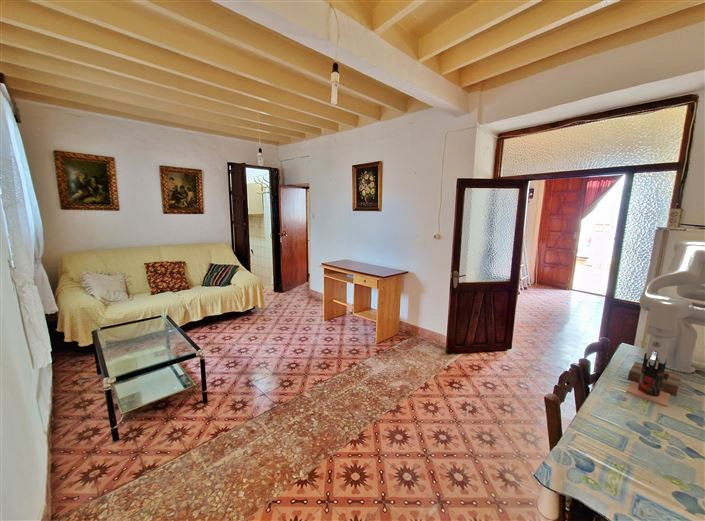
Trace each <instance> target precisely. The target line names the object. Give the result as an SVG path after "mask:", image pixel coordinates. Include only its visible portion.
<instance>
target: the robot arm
mask: <svg viewBox="0 0 705 521" xmlns="http://www.w3.org/2000/svg"><path fill="white" fill-rule="evenodd" d="M673 252H674V253H673V254H674V255H673V257H672V259H671V262H670V264H669V266H668V269H667V272H666V273H663V274H661V275H658V276H656V277H654V278H653V279H651V280H650V281H648V282H647V283H646V285H645V286H644V288H643V291H642V293H641V295H640V298H639V301H638V303H639V307H640V308H641V309H642V310H644V311H646V312H649V313H648V319H647V324H646V328H645V329H646V330H645V333H646V334H648V335H649V336H648V337H649V338H648V343H647V349H646V353H647V356H646V358H647V359H648V363H647V365H646V369H645V374H644V375H645V376H648V377H651V378H655V379H656V378H657V373H658V369H657V368H658V364H659V363H662V364H664V363H665V361H666V359H667V361H666V365H665V369H669V370H672V371H675V372H680V373H684V372H685V374H693V373H692V372H694V373H695V372H696V368H695V367H694V366H692V362H693V358H694V353H695V348H696V345H697V339H698V331H697V329H696V328H695V327H694V326H693V325H697V326H702V327H705V303H700V302H705V240H696V239H695V240H694V239H683V240H679V241H676V242H675V243H674V245H673ZM668 287H676V294H677V295H678V297H677V296H671V295H666V294H661V293H655V292H657V291H659V290H660V289H661V290H662V289H663V288H664V289H665V288H668ZM688 299H689V300H688ZM691 300H694V301H700V302H693V301H691ZM650 358H651V359H650ZM657 360H658V361H657Z"/></svg>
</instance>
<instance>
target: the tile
mask: <svg viewBox="0 0 705 521" xmlns="http://www.w3.org/2000/svg"><path fill="white" fill-rule="evenodd" d="M638 386H639V383H636V382H633V381H630V384H629V386H627V389H626V394H630V395H633V396H636V397H639V398H641V399H643V400H647V401H648V402H652V403H655V404H658V405H660V406H663V407H665V408H666V407H667V405H668V403H669V400H670V397H671V394H669V393H666V392H663V391H660V395H659V396H657V397H655V396H650V395H647V394H644V393H642V392H641V391H639V390H638Z"/></svg>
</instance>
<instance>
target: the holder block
mask: <svg viewBox="0 0 705 521" xmlns="http://www.w3.org/2000/svg"><path fill="white" fill-rule="evenodd" d="M642 365H643V362H642V363H641V362H639V361H635V362H634V363H633V365H632V367H631V368H630V369H629V372H628V375H627V381H630V382H632V381H633V382H636V383H639V381H640V376H641V371H642ZM681 380H682V375H681V374H679V373H676V372H672V371H670V370H666V369H665V370H664V375H663V380H662V385H661V390H660V391H663V392H666V393H669V394H670V396H674V397H677V394H678V391H679V388H680V383H681Z"/></svg>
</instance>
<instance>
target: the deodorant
mask: <svg viewBox="0 0 705 521" xmlns="http://www.w3.org/2000/svg"><path fill="white" fill-rule="evenodd" d="M646 356H647V352H645V353H644V356H643V360H642V364H643V365H642V371H641V376H640V381H639V386H638V390H639V391H641V392H642V393H644V394H647V395H650V396H655V397H657V396H659V395H660V390H661V385H662V380H663V375H664V370H666V367H665V365H666V361H667V359H666V361H665V363H664V364H662V363H659V364H658V368H657V369H658V373H657V378H656V379H655V378H651V377H648V376H645V375H644V374H645V369H646V365H647V363H648V359H647V358H646ZM650 359H651V358H650ZM657 361H658V360H657Z"/></svg>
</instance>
